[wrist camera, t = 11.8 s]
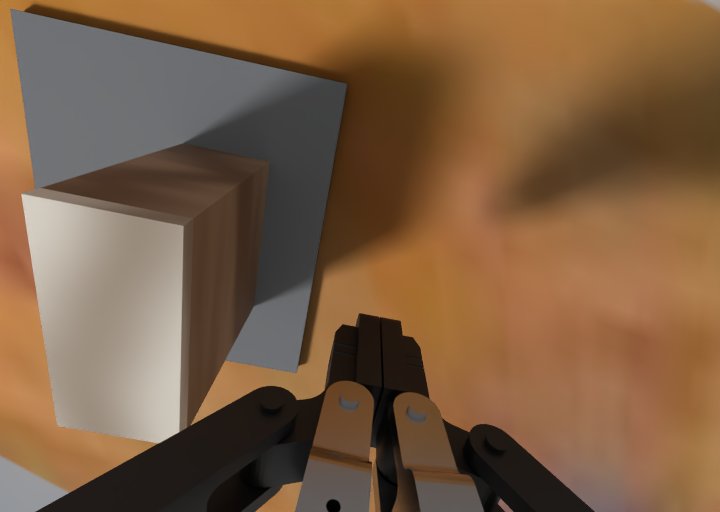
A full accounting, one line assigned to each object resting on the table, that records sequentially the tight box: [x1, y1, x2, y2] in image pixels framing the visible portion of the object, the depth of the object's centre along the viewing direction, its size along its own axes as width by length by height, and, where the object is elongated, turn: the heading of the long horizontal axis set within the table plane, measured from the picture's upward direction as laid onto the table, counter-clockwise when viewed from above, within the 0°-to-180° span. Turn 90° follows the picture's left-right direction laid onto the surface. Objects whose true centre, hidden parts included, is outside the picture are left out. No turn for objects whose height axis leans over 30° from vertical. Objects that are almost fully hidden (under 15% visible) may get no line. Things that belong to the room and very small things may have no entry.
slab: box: [22, 143, 270, 443], centre depth 15 cm, size 4×8×9 cm, turn 168°
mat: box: [10, 9, 347, 373], centre depth 20 cm, size 14×16×1 cm
